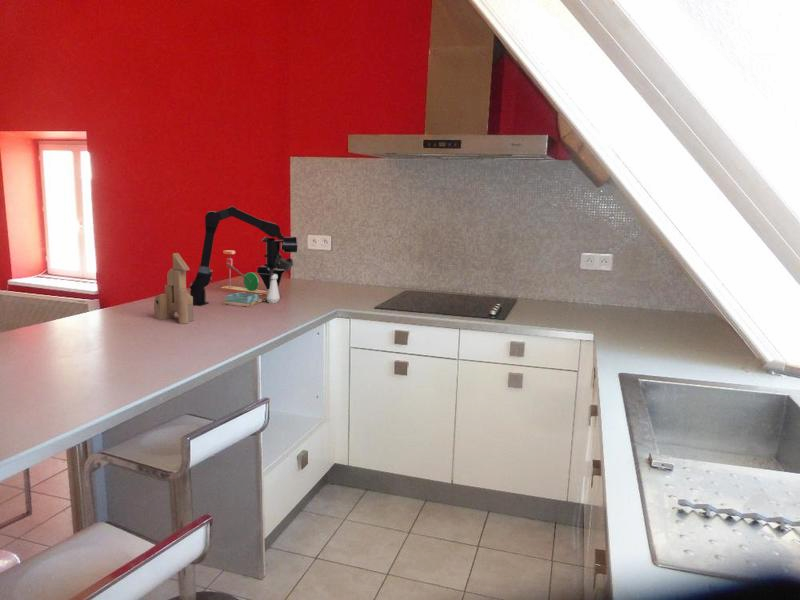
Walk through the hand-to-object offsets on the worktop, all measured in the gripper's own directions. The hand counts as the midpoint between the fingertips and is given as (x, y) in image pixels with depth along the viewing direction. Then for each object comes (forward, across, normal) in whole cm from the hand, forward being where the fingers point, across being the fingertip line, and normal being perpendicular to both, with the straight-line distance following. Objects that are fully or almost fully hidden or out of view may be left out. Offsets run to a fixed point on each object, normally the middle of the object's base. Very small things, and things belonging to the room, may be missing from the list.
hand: (273, 287), depth 256 cm
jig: (+7, -4, +11) cm, 14 cm away
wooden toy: (+7, -46, +17) cm, 50 cm away
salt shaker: (+7, 0, 0) cm, 7 cm away
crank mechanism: (+7, +19, +25) cm, 32 cm away
